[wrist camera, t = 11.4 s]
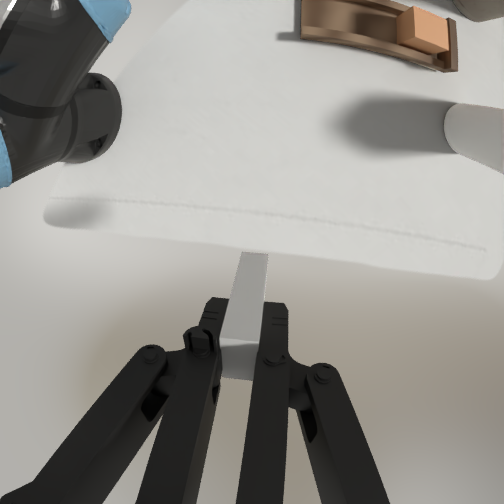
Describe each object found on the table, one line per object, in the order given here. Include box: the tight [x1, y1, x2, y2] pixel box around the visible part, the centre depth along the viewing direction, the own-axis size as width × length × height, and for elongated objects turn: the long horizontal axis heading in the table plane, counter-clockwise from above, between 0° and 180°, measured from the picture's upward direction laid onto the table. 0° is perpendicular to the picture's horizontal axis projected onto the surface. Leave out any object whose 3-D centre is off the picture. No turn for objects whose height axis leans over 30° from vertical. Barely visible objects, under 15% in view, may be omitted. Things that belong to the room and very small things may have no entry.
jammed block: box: [396, 6, 449, 55], centre depth 21 cm, size 5×5×6 cm
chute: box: [300, 0, 458, 73], centre depth 22 cm, size 21×8×5 cm, turn 88°
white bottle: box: [444, 104, 504, 174], centre depth 22 cm, size 8×8×18 cm
